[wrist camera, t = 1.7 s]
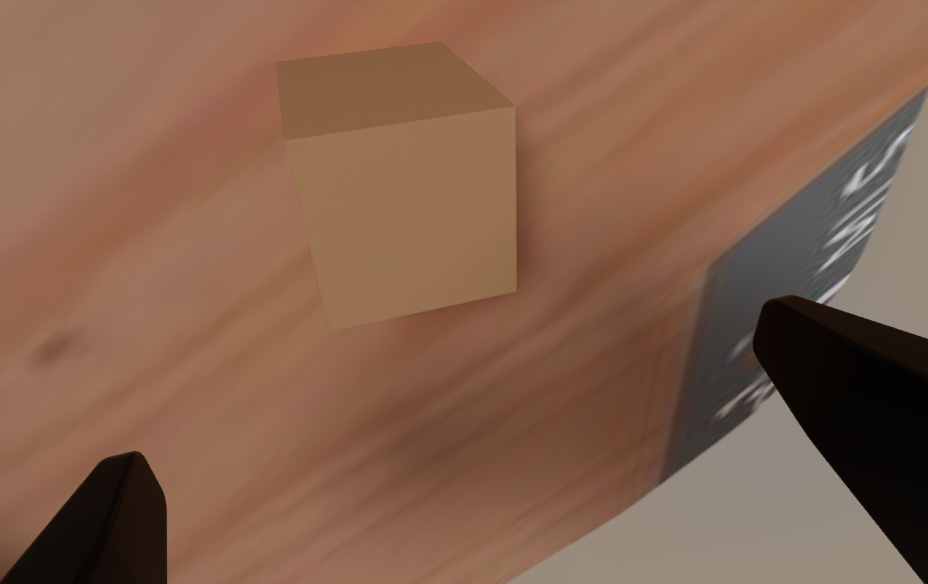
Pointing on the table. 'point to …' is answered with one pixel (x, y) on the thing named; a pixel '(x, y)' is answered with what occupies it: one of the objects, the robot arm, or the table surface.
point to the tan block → (401, 180)
